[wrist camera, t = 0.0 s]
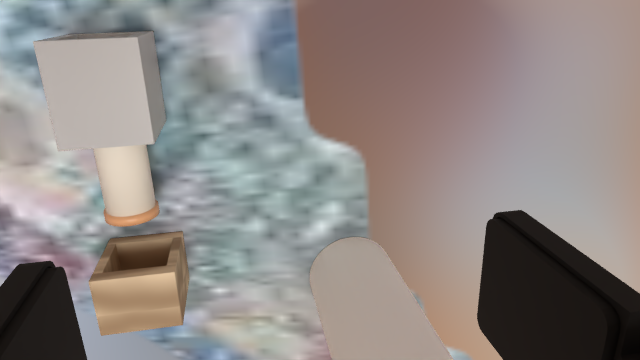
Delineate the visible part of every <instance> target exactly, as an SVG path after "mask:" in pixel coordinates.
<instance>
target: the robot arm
mask: <svg viewBox="0 0 640 360" xmlns="http://www.w3.org/2000/svg"><path fill="white" fill-rule="evenodd" d="M477 319H478V324H479V327H480V329H481V331H482V332H483V334H484V335H485V336H486V337H487V339H488V340H489V342H490V343H491V344H492V346H493V347H494V348H495V349H496V351H497V352H498V353H499V355H500V356H501V357H502V359H503V360H640V294H639V293H638V292H636V291H635V290H634V289H632V288H631V287H629V286H628V285H627V284H625V283H624V282H622V281H621V280H620V279H618V278H617V277H615V276H614V275H612V274H611V273H610V272H608V271H607V270H606V269H604V268H603V267H601V266H600V265H599V264H597V263H596V262H594V261H593V260H591V259H590V258H589V257H587V256H586V255H584V254H583V253H582V252H580V251H579V250H577V249H576V248H575V247H573V246H572V245H570V244H569V243H567V242H566V241H565V240H563V239H562V238H560V237H559V236H558V235H556V234H555V233H553V232H552V231H551V230H549V229H548V228H546V227H545V226H544V225H542V224H541V223H539V222H538V221H537V220H535V219H534V218H532V217H531V216H529V215H528V214H527V213H525V212H524V211H522V210H518V211H508V212H498V213H496V214H495V215H494V217H493V219H490V220H489V221H488V223H487V226H486V235H485V244H484V255H483V264H482V275H481V283H480V293H479V304H478V313H477ZM0 360H87V357H86V353H85V349H84V345H83V341H82V337H81V333H80V329H79V325H78V321H77V317H76V313H75V309H74V305H73V301H72V297H71V293H70V289H69V285H68V281H67V277H66V273H65V270H64V269H63V268H62V267H55V265H54V264H53V262H51V261H44V262H35V263H26V264H19V265H18V266H17V267H16V268H15V269H14V270H13V271H12V273H11V274H10V275H9V276H8V278H7V279H6V280H5V281H4V283H3V284H2V285H1V286H0Z"/></svg>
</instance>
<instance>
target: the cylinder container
mask: <svg viewBox="0 0 640 360" xmlns="http://www.w3.org/2000/svg"><path fill="white" fill-rule="evenodd" d="M310 286H311V289H312V293H313V296H314V300H315V303H316V307H317V310H318V314H319V317H320V320H321V324H322V327H323V331H324V334H325V338H326V341H327V345H328V348H329V352H330V355H331V359H332V360H453V358H452V356H451V355H450V353H449V352H448V350H447V349H446V347H445V345H444V344H443V342H442V341H441V339H440V337H439V336H438V334H437V333H436V331H435V329H434V328H433V326H432V325H431V323H430V322H429V320H428V318H427V317H426V315H425V314H424V312H423V310H422V309H421V307H420V306H419V304H418V302H417V301H416V299H415V298H414V296H413V294H412V293H411V291H410V290H409V288H408V287H407V285H406V283H405V282H404V280H403V279H402V277H401V275H400V274H399V272H398V271H397V269H396V268H395V266H394V264H393V263H392V261H391V259H390V258H389V256H388V255H387V253H386V252H385V250H384V249H383V248H382V247H381V246H380V245H379V244H377V243H376V242H374V241H372V240H370V239H367V238H362V237H349V238H344V239H340V240H338V241H335V242H333V243H332V244H330V245H328V246H327V247H326V248H324V249H323V250H322V251H321V252H320V253H319V254H318V256H317V257H316V259H315V260H314V262H313V264H312V267H311V270H310Z"/></svg>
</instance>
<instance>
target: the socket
mask: <svg viewBox="0 0 640 360" xmlns="http://www.w3.org/2000/svg"><path fill="white" fill-rule="evenodd" d="M188 284H189V272H188V265H187V258H186V252H185V245H184V238H183V231H180V232H170V233H161V234H151V235H141V236H132V237H122V238H112V239H110V240H109V242H108V244H107V246H106V248H105V250H104V252H103V254H102V256H101V258H100V260H99V262H98V264H97V266H96V268H95V270H94V272H93V274H92V276H91V278H90V280H89V286H90V290H91V294H92V299H93V303H94V307H95V312H96V316H97V320H98V324H99V329H100V333H101V335H102V336H103V335H109V334H118V333H125V332H133V331H140V330H148V329H155V328H163V327H171V326H178V325H183V319H184V312H185V305H186V298H187V291H188Z"/></svg>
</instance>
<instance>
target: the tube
mask: <svg viewBox="0 0 640 360" xmlns="http://www.w3.org/2000/svg"><path fill="white" fill-rule="evenodd" d="M93 150H94V155H95V160H96V165H97V170H98V175H99V180H100V185H101V189H102V194H103V199H104V204H105V209H104V217H105V221H106V223H108V224H109V225H113V226H132V225H137V224H141V223H144V222H147V221H149V220H152V219H153V218H155V217H156V216H157V215H158V214H159V205H158V201H157V200H156V199H155V195H154V189H153V183H152V176H151V170H150V164H149V158H148V152H147V146H146V145H134V146H121V147H108V148H94V149H93Z"/></svg>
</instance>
